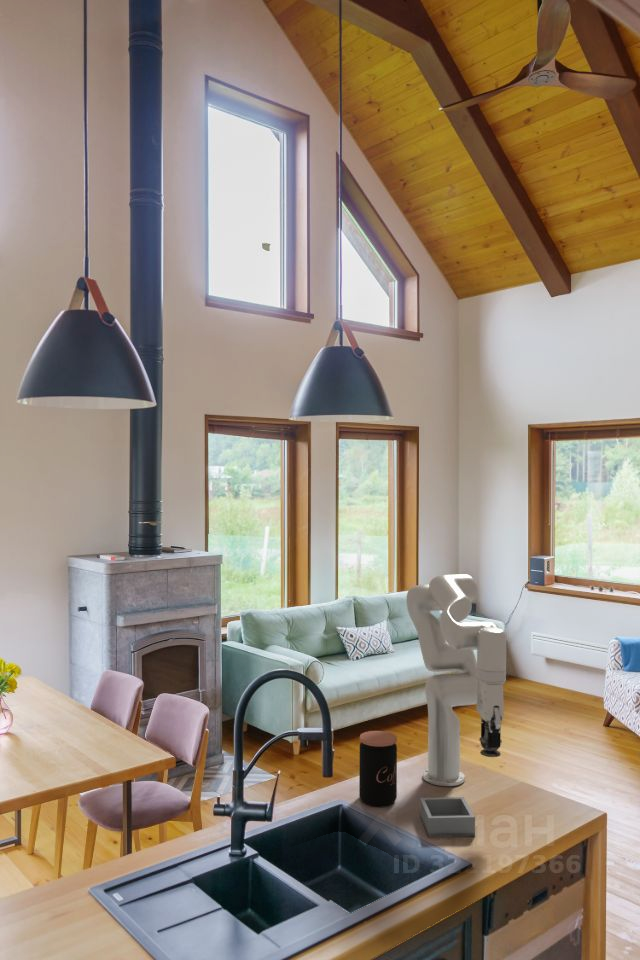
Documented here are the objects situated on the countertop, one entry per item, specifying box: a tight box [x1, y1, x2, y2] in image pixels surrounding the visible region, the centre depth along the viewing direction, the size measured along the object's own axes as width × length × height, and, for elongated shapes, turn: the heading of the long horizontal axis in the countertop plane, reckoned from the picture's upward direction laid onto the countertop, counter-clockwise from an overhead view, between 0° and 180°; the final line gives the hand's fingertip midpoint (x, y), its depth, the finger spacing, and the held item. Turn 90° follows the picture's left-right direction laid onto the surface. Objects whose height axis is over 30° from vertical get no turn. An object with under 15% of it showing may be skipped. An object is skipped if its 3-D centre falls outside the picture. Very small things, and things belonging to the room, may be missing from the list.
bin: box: [419, 796, 476, 839], centre depth 202 cm, size 12×12×5 cm
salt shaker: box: [479, 718, 503, 758], centre depth 204 cm, size 6×6×12 cm
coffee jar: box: [358, 730, 398, 808], centre depth 218 cm, size 11×11×18 cm
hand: (490, 741), depth 204 cm, fingers closed on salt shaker, 5 cm apart
